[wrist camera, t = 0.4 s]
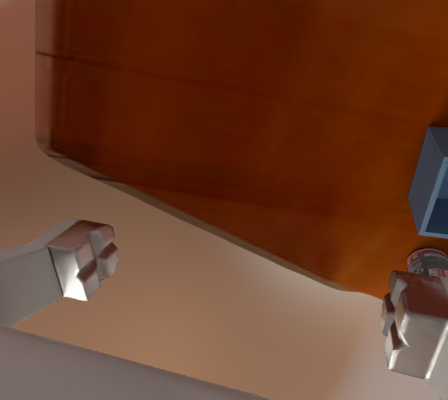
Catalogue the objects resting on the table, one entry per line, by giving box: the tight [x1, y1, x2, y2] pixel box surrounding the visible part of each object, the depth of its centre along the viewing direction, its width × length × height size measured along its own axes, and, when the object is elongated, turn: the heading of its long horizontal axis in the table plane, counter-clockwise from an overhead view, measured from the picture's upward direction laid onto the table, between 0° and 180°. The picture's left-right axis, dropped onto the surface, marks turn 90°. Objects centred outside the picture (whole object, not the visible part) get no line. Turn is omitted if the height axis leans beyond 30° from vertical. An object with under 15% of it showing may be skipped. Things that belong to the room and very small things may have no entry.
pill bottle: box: [407, 248, 448, 277], centre depth 47 cm, size 6×6×10 cm
